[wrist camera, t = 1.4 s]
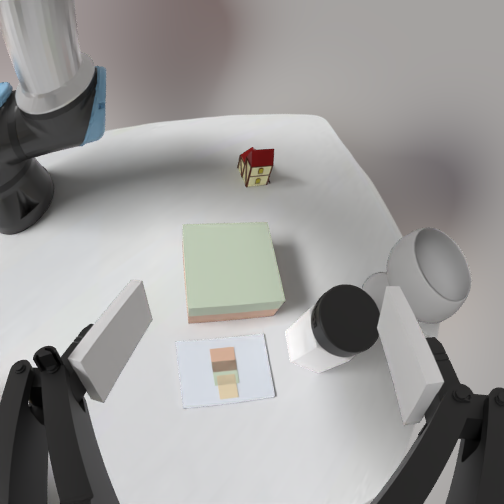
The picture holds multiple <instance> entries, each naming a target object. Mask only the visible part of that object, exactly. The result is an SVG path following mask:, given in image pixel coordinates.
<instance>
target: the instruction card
mask: <svg viewBox="0 0 504 504" xmlns="http://www.w3.org/2000/svg"><path fill="white" fill-rule="evenodd" d="M175 342H176V352H177V362H178V371H179V379H180V387H181V395H182V402H183V408H193V407H204V406H214V405H223V404H231V403H238V402H245V401H252V400H258V399H264V398H270V397H275V393H274V388H273V382H272V377H271V372H270V366H269V361H268V356H267V350H266V345H265V340H264V334H255V335H246V336H236V337H226V338H215V339H204V340H190V341H175Z"/></svg>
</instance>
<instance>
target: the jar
mask: <svg viewBox="0 0 504 504" xmlns="http://www.w3.org/2000/svg"><path fill="white" fill-rule="evenodd" d="M379 317H380V312H379V309H378V307H377V305H376V303H375V301H374V300H373V299H372V297H371V296H370V295H369V294H368V293H367V292H365V291H364V290H362V289H361V288H358V287H356V286H353V285H338V286H335V287H333V288H331V289H330V290H328V291H327V292H326V293H324V294H323V295H322V296H321V297H320V298H319V300H318V301H317V303H316V304H315V305H313V306H312V307H311V308H309V309H308V310H307V311H306V312H305V313H303V314H302V315H301V317H300V318H299V319H298V320H297V321H296V322H295V323H294V324H292V325H291V326H290V327H289V328H288V329H287V330H286V331H285V335H286V341H287V347H288V353H289V359H290V362H291V363H293V364H296V365H298V366H301V367H303V368H306V369H308V370H311V371H313V372H316V373H321V372H323V371H326V370H329V369H331V368H334V367H336V366H338V365H341V364H343V363H346V362H348V361H350V360H351V359H352V358H353V357H354V356H355V355H356V354H359V353H361V352H363V351H365V350H367V349H369V348H370V347H371V346H372V345H373V344H374V343H375V342H376V340H377V339H378V337H379V333H378V329H377V325H378V321H379Z"/></svg>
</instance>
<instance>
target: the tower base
mask: <svg viewBox="0 0 504 504" xmlns="http://www.w3.org/2000/svg"><path fill="white" fill-rule="evenodd" d="M183 261H184V276H185V289H186V301H187V312H188V323H201V322H214V321H226V320H237V319H248V318H258V317H267V316H273V315H274V314H275V313H276V312H277V310H278V309H279V308H280V307H281V305H282V304H283V303H284V302H285V296H284V292H283V288H282V283H281V279H280V274H279V270H278V265H277V261H276V257H275V252H274V248H273V244H272V240H271V235H270V231H269V227H268V223H267V222H255V223H216V224H187V225H183Z"/></svg>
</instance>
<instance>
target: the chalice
mask: <svg viewBox="0 0 504 504" xmlns="http://www.w3.org/2000/svg"><path fill="white" fill-rule="evenodd" d="M386 286H400V288H401V290H402V292H403V294H404V296H405V298H406V299H407V301H408V303H409V305H410V307H411V309H412V311H413V313H414V315H415V317H416V319H417V320H418V321H420V322H425V323H438V322H442V321H443V320H445V319H447V318H449V317H451V316H452V315H453V314H454V313H455V312H456V311H457V310H458V309H459V308H460V307H461V305H462V304H463V303H464V301H465V300H466V298H467V296H468V294H469V291H470V288H471V273H470V269H469V265H468V263H467V260H466V258H465V256H464V254H463V252H462V250H461V249H460V248H459V246H458V245H457V244H456V242H455V241H454V240H453V239H452V238H451V237H449V236H448V235H447V234H446V233H444V232H442V231H441V230H438V229H435V228H423V229H418V230H415V231H413V232H411V233H409V234H408V235H406V236H404V237H403V238H401V239H400V240H399V241H398V242H397V243H396V244H395V246H394V247H393V248H392V250H391V252H390V255H389V257H388V262H387V273H385V272H379V273H375V274H373V275H371V276H370V277H369V278H368V279H367V280H366V281H365V283H364V284H363V287H362V290H364V291H365V292H367V293H368V294H369V295H370V296H371V297H372V299H373V300H374V301H375V303H376V305H377V307H378V309H379V312H380V313H381V309H382V304H383V299H384V295H385V290H386Z"/></svg>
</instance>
